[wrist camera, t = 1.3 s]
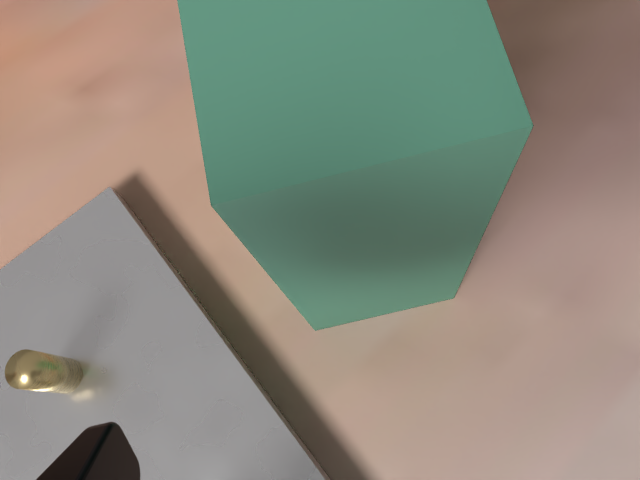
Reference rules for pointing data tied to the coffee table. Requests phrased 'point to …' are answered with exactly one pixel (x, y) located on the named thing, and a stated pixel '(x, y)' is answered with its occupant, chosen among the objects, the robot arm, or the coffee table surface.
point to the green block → (355, 142)
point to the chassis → (128, 361)
